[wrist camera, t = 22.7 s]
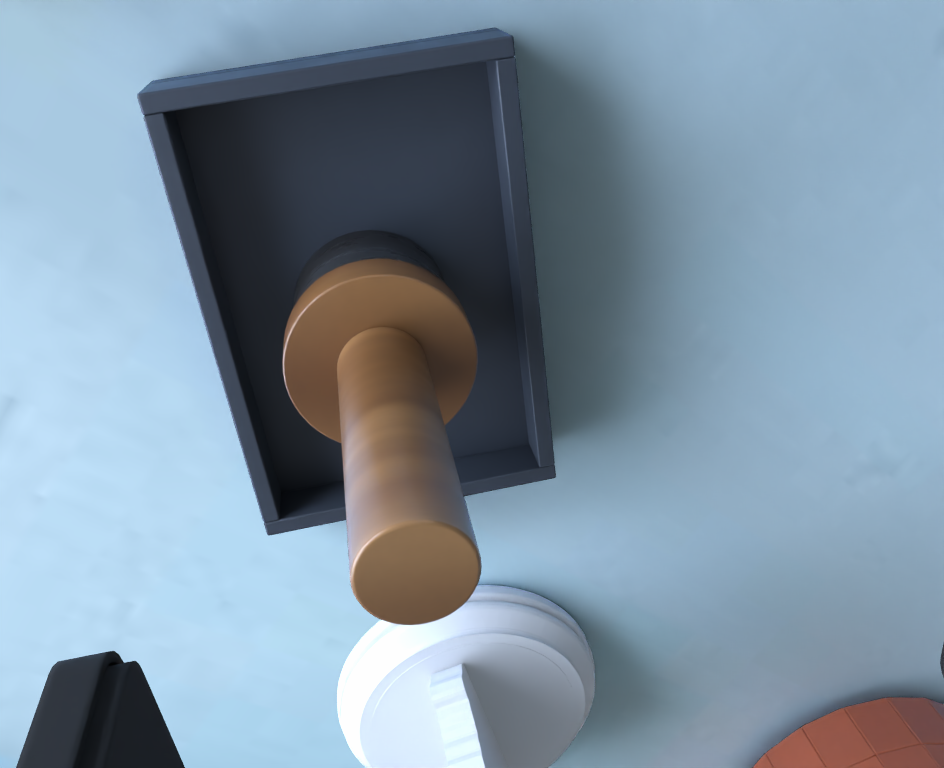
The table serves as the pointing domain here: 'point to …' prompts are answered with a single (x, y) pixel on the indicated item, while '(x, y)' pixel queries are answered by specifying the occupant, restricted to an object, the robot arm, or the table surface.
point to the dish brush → (389, 416)
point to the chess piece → (469, 686)
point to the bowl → (867, 737)
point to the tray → (349, 210)
